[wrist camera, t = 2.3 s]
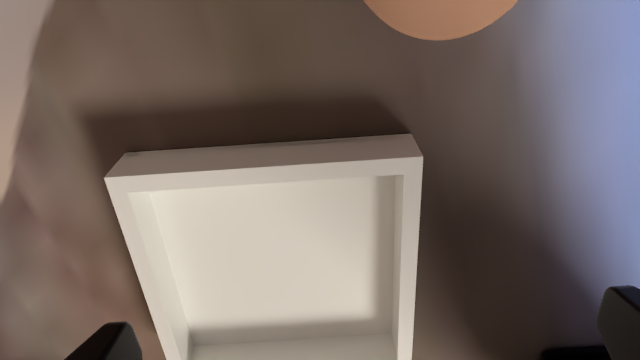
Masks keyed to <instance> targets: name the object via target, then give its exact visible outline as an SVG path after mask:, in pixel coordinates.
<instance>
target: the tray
mask: <svg viewBox="0 0 640 360" xmlns="http://www.w3.org/2000/svg"><path fill="white" fill-rule="evenodd" d="M422 171H423V155H422V153H421V151H420V149H419V147H418V146H417V144H416V142H415V140H414V138H413V136H412V134H397V135H382V136H367V137H352V138H337V139H322V140H307V141H292V142H277V143H262V144H247V145H232V146H217V147H202V148H187V149H172V150H158V151H143V152H128V153H125V154H124V155H123V156H122V157H121V158H120V159H119V161H118V162H117V163H116V164H115V165H114V166H113V168H112V169H111V170H110V171H109V172H108V173H107V175H106V176H105V177H104V180H105V183H106V186H107V189H108V191H109V194H110V197H111V200H112V203H113V206H114V209H115V212H116V215H117V218H118V220H119V223H120V226H121V229H122V232H123V235H124V238H125V241H126V244H127V247H128V249H129V252H130V255H131V258H132V261H133V264H134V267H135V270H136V273H137V276H138V278H139V281H140V284H141V287H142V290H143V293H144V296H145V299H146V302H147V305H148V307H149V310H150V313H151V316H152V319H153V322H154V325H155V328H156V331H157V334H158V336H159V339H160V342H161V345H162V348H163V351H164V354H165V357H166V360H412V344H413V327H414V310H415V292H416V275H417V257H418V240H419V223H420V205H421V188H422Z"/></svg>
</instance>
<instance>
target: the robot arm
mask: <svg viewBox="0 0 640 360" xmlns="http://www.w3.org/2000/svg"><path fill="white" fill-rule="evenodd" d="M596 323H597V328H598V331H599V333H600V335H601V338H602V340H603V342H604V344H605V346H606V347H592V348H576V349H560V350H548V351H545V352H544V353H543V354H542V355H541V358H540V360H640V289H638V288H636V287H634V286H629V285H628V286H613V287H609V288H608V289H607V290H606V291H605V293H604V296H603V299H602V302H601V305H600V308H599V311H598V314H597V318H596ZM64 360H142V350H141V347H140V345H139V342H138V340H137V337H136V335H135V332H134V330H133V327H132V325H131V324H130V323H129V322H126V321H123V322H110V323H106V324H105V325H103V326H102V327H101V328H100V329H98V330H97V331H96V332H95V333H94V334H93V335H92V336H91V337H89V338H88V339H87V340H86V341H85V342H84V343H83V344H81V345H80V346H79V347H78V348H77V349H76V350H75V351H73V352H72V353H71V354H70V355H69V356H68V357H67V358H65V359H64Z"/></svg>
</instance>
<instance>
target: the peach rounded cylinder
mask: <svg viewBox="0 0 640 360" xmlns="http://www.w3.org/2000/svg"><path fill="white" fill-rule="evenodd" d="M363 1H364V2H365V3H366V4H367V5H368V6H369V7H370V9H371V10H372V11H373V12H374V13H375V14H376V15H377V16H378V17H379V18H380V19H381V20H382V21H384V22H385V23H386V24H387V25H389V26H390V27H392V28H394V29H395V30H397V31H399V32H401V33H403V34H406V35H408V36H411V37H415V38H418V39H425V40H448V39H455V38H459V37H463V36H467V35H469V34H472V33H474V32H477V31H479V30H481V29H483V28H485V27H486V26H488V25H490V24H492V23H493V22H494V21H496V20H497V19H499V18H500V17H501V16H503V15H504V14H505V13H506V12H507V11H508V10H509V9H511V8H512V7H513V6H514V5H515V4H516V2H517V1H518V0H363Z"/></svg>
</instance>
